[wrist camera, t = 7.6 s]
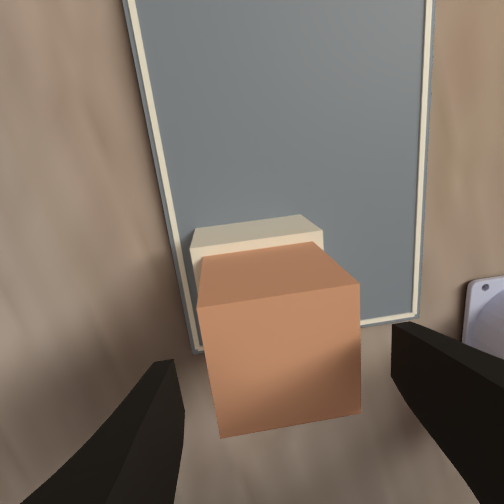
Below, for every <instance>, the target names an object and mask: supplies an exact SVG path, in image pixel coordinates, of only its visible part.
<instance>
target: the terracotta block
mask: <svg viewBox="0 0 504 504" xmlns="http://www.w3.org/2000/svg"><path fill="white" fill-rule="evenodd" d="M196 309H197V314H198V319H199V325H200V330H201V336H202V341H203V347H204V352H205V357H206V363H207V368H208V374H209V379H210V385H211V390H212V395H213V401H214V406H215V412H216V417H217V423H218V428H219V433H220V439H221V438H227V437H232V436H238V435H244V434H249V433H255V432H260V431H266V430H271V429H277V428H282V427H288V426H293V425H299V424H305V423H310V422H316V421H321V420H327V419H332V418H338V417H343V416H349V415H354V414H360V413H361V344H360V283H359V282H358V281H356V280H355V279H354V278H353V277H352V276H351V275H350V274H349V273H348V272H346V271H345V270H344V269H343V268H342V267H341V266H340V265H339V264H338V263H336V262H335V261H334V260H333V259H332V258H331V257H330V256H329V255H328V254H326V253H325V252H324V251H323V250H322V249H321V248H320V247H319V246H318V245H316V244H315V243H314V242H313V241H310V242H303V243H296V244H289V245H282V246H275V247H268V248H260V249H253V250H246V251H239V252H232V253H225V254H218V255H211V256H203V260H202V268H201V276H200V284H199V292H198V300H197V308H196Z"/></svg>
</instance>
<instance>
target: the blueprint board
mask: <svg viewBox="0 0 504 504" xmlns="http://www.w3.org/2000/svg"><path fill="white" fill-rule="evenodd" d="M122 1H123V7H124V12H125V17H126V22H127V27H128V32H129V37H130V42H131V47H132V52H133V57H134V62H135V67H136V72H137V77H138V82H139V87H140V92H141V97H142V103H143V108H144V113H145V118H146V123H147V128H148V133H149V138H150V143H151V148H152V153H153V158H154V163H155V168H156V173H157V178H158V183H159V188H160V194H161V199H162V204H163V209H164V214H165V219H166V224H167V229H168V234H169V239H170V244H171V249H172V254H173V259H174V264H175V269H176V274H177V279H178V285H179V290H180V295H181V300H182V305H183V310H184V315H185V320H186V325H187V330H188V335H189V340H190V345H191V350H192V355H194V354H201V353H205V352H204V347H203V341H202V336H201V330H200V325H199V319H198V314H197V309H196V308H197V300H198V292H199V284H200V276H201V268H202V260H203V256H211V255H218V254H225V253H232V252H239V251H246V250H253V249H260V248H268V247H275V246H282V245H289V244H296V243H303V242H310V241H313V242H314V243H315V244H316V245H318V246H319V247H320V248H321V249H322V250H323V251H324V252H325V253H326V254H328V255H329V256H330V257H331V258H332V259H333V260H334V261H335V262H336V263H338V264H339V265H340V266H341V267H342V268H343V269H344V270H345V271H346V272H348V273H349V274H350V275H351V276H352V277H353V278H354V279H355V280H356V281H358V282H359V283H360V328H362V327H368V326H375V325H381V324H387V323H393V322H399V321H406V320H412V319H418V318H419V314H420V295H421V276H422V257H423V238H424V219H425V200H426V181H427V162H428V142H429V123H430V104H431V85H432V66H433V47H434V28H435V9H436V0H122Z"/></svg>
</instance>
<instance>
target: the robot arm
mask: <svg viewBox="0 0 504 504" xmlns="http://www.w3.org/2000/svg"><path fill="white" fill-rule="evenodd" d="M483 285H484V287H483V288H482V286H483ZM391 377H392V379H393V381H394V382H395V384H396V386H397V388H398V390H399V391H400V393H401V395H402V396H403V398H404V400H405V401H406V403H407V405H408V406H409V407H410V409H411V410H412V411H413V413H414V414H415V415H416V417H417V418H418V419H419V421H420V422H421V423H422V425H423V426H424V427H425V429H426V430H427V431H428V433H429V434H430V435H431V436H432V438H433V439H434V440H435V442H436V443H437V444H438V446H439V447H440V448H441V450H442V451H443V452H444V453H445V455H446V456H447V457H448V459H449V460H450V461H451V463H452V464H453V465H454V467H455V468H456V469H457V471H458V472H459V473H460V475H461V476H462V477H463V479H464V480H465V482H466V483H467V484H468V486H469V487H470V489H471V490H472V492H473V493H474V495H475V497H476V498H477V500H478V501H479V503H480V504H504V275H503V276H496V277H490V278H483V279H477V280H473V281H471V282H470V283H469V284H468V287H467V295H466V305H465V315H464V325H463V335H462V342H459V341H457V340H455V339H452V338H450V337H448V336H445V335H443V334H441V333H438V332H436V331H434V330H431V329H429V328H426V327H424V326H421V325H419V324H416V323H413V322H410V321H409V322H403V323H397V324H392V348H391ZM184 419H185V409H184V405H183V400H182V396H181V391H180V387H179V382H178V378H177V373H176V368H175V364H174V359H171V360H164V361H158V362H154V363H153V364H152V365H151V367H150V368H149V369H148V370H147V371H146V373H145V374H144V375H143V376H142V378H141V379H140V380H139V382H138V383H137V384H136V385H135V387H134V388H133V389H132V390H131V392H130V393H129V394H128V395H127V397H126V398H125V399H124V400H123V401H122V403H121V404H120V405H119V406H118V408H117V409H116V410H115V411H114V412H113V414H112V415H111V416H110V417H109V418H108V419H107V420H106V421H105V422H104V424H103V425H102V426H101V427H100V428H99V429H98V430H97V431H96V432H95V434H94V435H93V436H92V437H91V438H90V439H89V440H88V441H87V442H86V443H85V444H84V445H83V446H82V447H81V448H80V449H79V450H78V451H77V452H76V453H75V454H74V455H73V456H72V457H71V458H70V459H69V460H68V461H67V462H66V463H65V464H64V465H63V466H62V467H61V468H60V469H59V470H58V471H57V472H56V473H55V474H54V475H52V476H51V477H50V478H49V479H48V480H47V481H46V482H45V483H43V484H42V485H41V486H40V487H39V488H38V489H36V490H35V491H34V492H33V493H32V494H31V495H30V496H28V497H27V498H26V499H25V500H24V501H23V502H21V503H20V504H174V498H175V491H176V485H177V479H178V473H179V467H180V461H181V455H182V448H183V439H184Z"/></svg>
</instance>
